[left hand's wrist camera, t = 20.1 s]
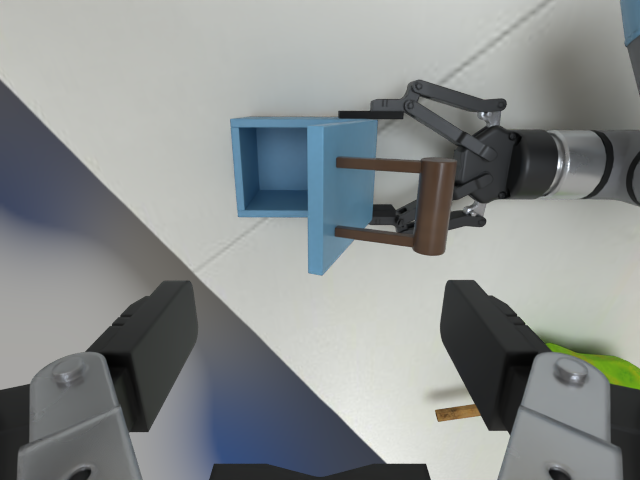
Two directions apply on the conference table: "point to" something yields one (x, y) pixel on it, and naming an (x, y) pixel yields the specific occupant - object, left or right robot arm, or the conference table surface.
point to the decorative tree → (608, 365)
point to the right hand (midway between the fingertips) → (338, 164)
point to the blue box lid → (367, 193)
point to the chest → (272, 164)
